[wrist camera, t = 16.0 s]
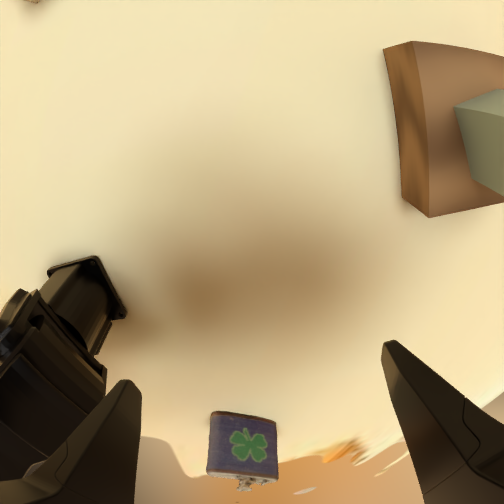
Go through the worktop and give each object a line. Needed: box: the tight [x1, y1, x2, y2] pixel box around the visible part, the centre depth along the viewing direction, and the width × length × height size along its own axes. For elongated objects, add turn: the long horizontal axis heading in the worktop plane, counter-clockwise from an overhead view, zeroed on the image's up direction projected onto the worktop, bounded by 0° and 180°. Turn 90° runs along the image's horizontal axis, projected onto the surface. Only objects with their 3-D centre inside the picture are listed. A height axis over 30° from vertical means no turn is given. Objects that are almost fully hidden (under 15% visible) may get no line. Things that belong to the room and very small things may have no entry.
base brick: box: [383, 41, 504, 218], centre depth 14 cm, size 11×11×4 cm
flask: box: [206, 411, 278, 491], centre depth 29 cm, size 9×3×11 cm, turn 66°
